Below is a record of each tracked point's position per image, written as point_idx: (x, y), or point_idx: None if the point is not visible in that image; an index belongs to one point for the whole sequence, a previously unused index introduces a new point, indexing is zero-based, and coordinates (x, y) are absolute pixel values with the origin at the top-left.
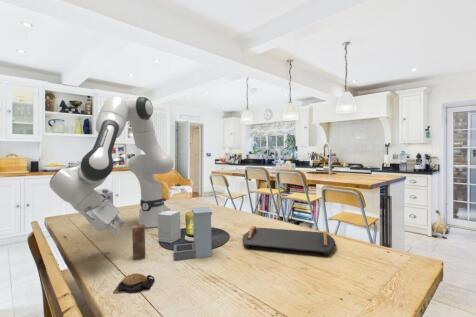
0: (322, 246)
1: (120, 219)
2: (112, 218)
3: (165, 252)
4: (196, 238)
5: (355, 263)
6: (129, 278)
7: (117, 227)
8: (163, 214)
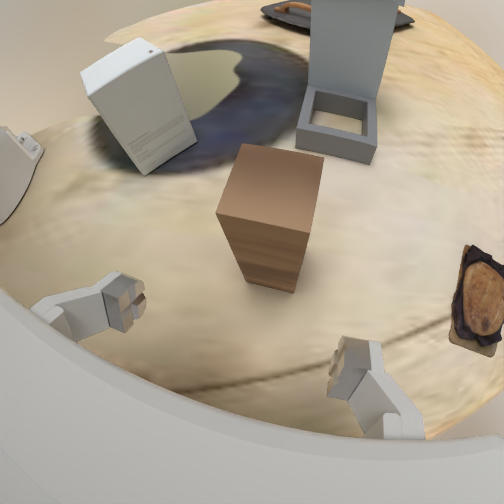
0: (397, 13)
1: (85, 299)
2: (301, 439)
3: None
4: (383, 68)
5: (431, 28)
6: (501, 309)
7: (348, 362)
8: (121, 72)
